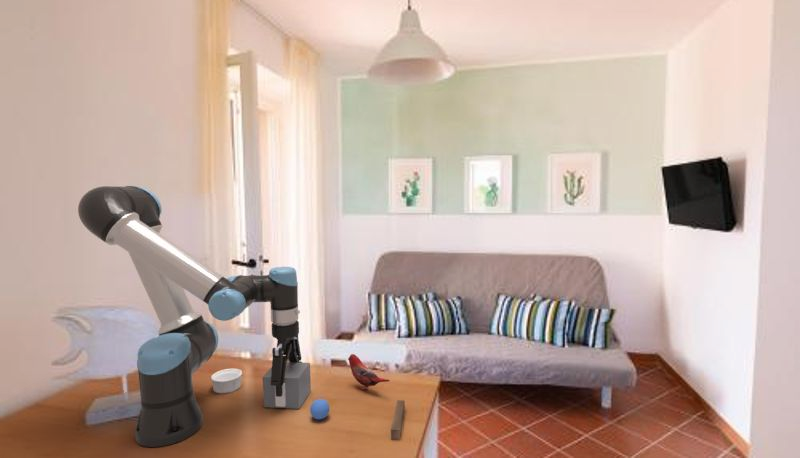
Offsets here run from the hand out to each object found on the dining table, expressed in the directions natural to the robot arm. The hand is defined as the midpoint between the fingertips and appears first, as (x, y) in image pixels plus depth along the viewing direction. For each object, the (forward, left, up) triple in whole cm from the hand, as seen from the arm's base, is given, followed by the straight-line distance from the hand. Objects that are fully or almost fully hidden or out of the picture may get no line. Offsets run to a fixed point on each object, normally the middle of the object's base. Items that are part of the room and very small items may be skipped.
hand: (288, 396), depth 121 cm
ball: (+12, -9, +2) cm, 15 cm away
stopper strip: (+33, -10, -1) cm, 35 cm away
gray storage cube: (0, 0, -1) cm, 1 cm away
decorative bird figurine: (+22, +6, -1) cm, 23 cm away
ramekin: (-22, +6, -1) cm, 23 cm away
